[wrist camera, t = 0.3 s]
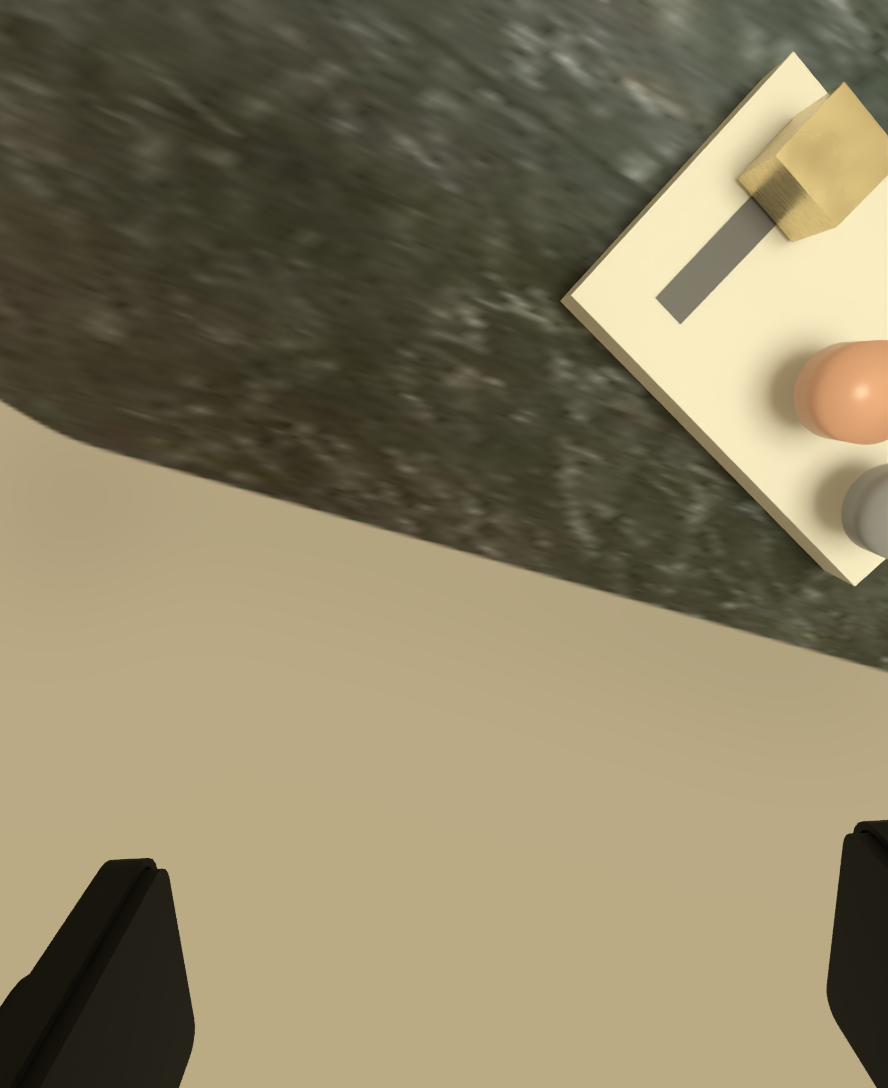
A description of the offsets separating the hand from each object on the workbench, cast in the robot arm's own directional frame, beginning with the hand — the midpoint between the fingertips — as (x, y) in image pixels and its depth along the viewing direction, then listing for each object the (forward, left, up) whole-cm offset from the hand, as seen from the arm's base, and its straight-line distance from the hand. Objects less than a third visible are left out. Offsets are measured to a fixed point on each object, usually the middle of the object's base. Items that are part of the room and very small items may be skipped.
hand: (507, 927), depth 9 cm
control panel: (-19, +8, -30) cm, 36 cm away
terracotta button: (-17, +9, -26) cm, 32 cm away
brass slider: (-22, +1, -27) cm, 35 cm away
